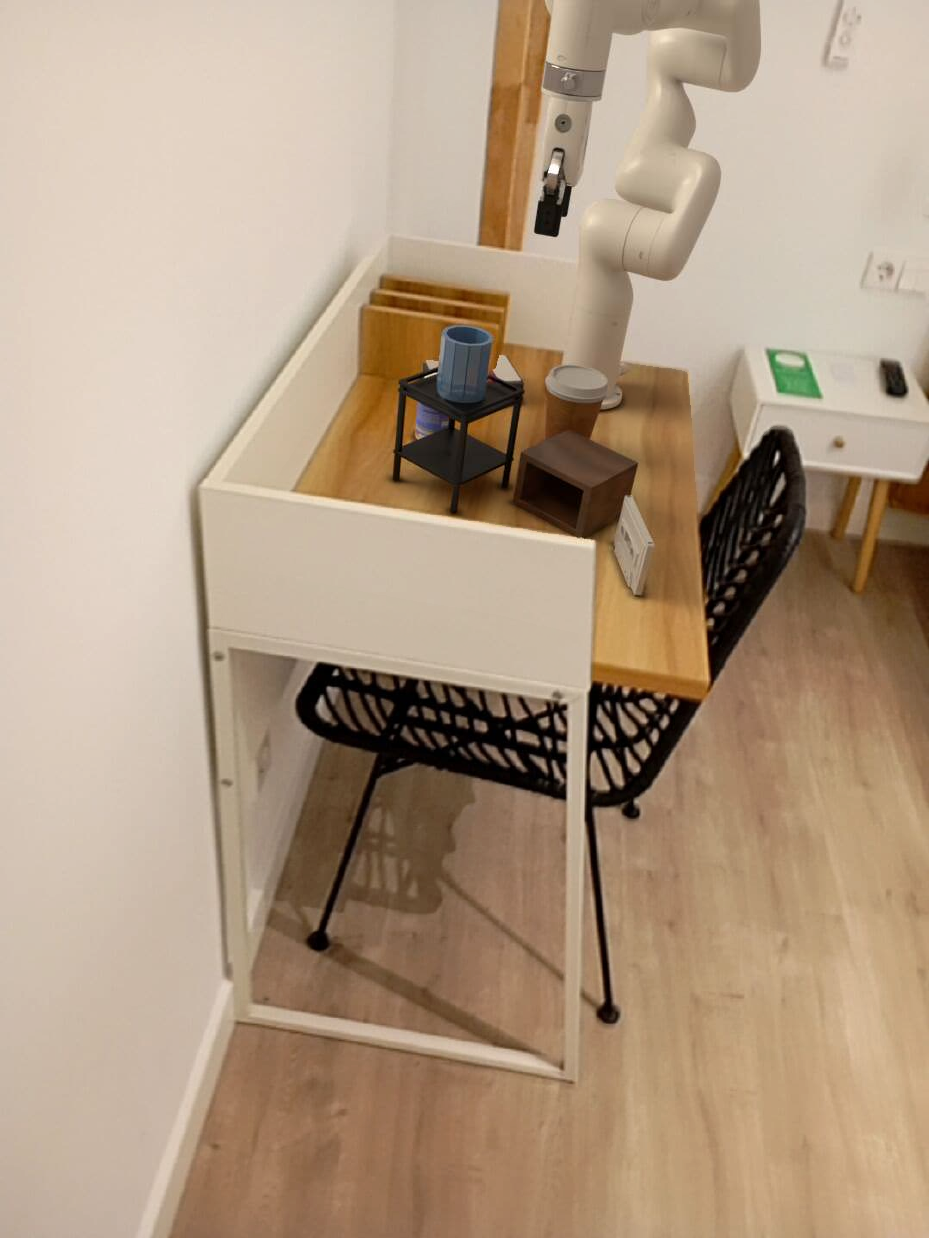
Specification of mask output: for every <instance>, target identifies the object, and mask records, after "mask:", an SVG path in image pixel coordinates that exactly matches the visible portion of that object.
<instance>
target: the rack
mask: <svg viewBox="0 0 929 1238" xmlns="http://www.w3.org/2000/svg"><path fill="white" fill-rule="evenodd" d="M436 372H438V367H436V368H433V369H430V370H427V371H425V372H422V373H421V372H419V373H416V374H414V375H411V376H408V377H405V378H402V379H399V380H398V385H399V387H397V392H398V403H397V414H396V417H397V418H396V427H395V442H394V443H395V444H394V449H393V451H392V453H393V467H392V481H393V482H399V481H400V480H401V479H400V478H401V466H402V459H404V460H406V461H408V462H409V463H411V464H413V465H414V466H417V467H419V468H420V469H422V470H424V471H426V472H428V473H429V474H431V475H432V476H433V475H434V476H435V477H437V478H439V479H440V480H443V482H446V483H447V484H450V485H452V491H451V500H450V508H449V512H450V514H451V515H456V514H457V513H458V509H459V502H460V493H461V487H462V486H463V485H465V484H468V483H470V482H472V481H474V480H476V479H478V478H480V477H483V476H485V475H487V474H489V473H491V472H494V471H496V470H497V469H499V468H501V467H503V473H502V479H501V484H500V487H501V488H502V489H508V488H509V486H510V485H509V484H510V478H511V472H512V466H513V462H514V461H515V457H514V452H515V446H516V440H517V434H518V426H519V420H520V414H521V410H522V409H521V407H522V403H523V401H524V394H525V391H526V390H525V389H521V388H519V387H517V386H514V385H512V384H510V383H508V382H506V381H504V380H501V379H499V378H497V377H495V376H493V375H491V374H489V378H488V379H490V380H492V381H495V382H497V383H499V384H501V385H503V386H505V387H507V388H509V389H512V390H514V391H516V392H511V391H509V390H507V389H505V388H503V387H501V386H499V385H497V384H494V383H492V382H490V381H488V386H487V390H486V396H485V398H484V399H483V400H481V401H479V402H475V403H458V402H453V401H450V400H447V399H445V398H443V397H441V396H440V395H439V394H438V392H437V375H438V374H435V375H432V376H429V377H426V378H424V379H422V377H425V376H428V375H431V374H433V373H436ZM522 396H523V397H522ZM407 397H408V398H410V399H412V400H414V401H415V402H417V403H418V402H420V403H422V404H424V405H426V406H428V407H430V408H432V409H434V410H436V411H438V412H439V413H441V414H443V415H445V416H447V417H449V422H448V427H447V428H445V429H442V430H440V431H437V432H435V433H433V434H430V435H428V436H425V437H423V438H420V439H416V440H413V441H411V442H409V443H406V444H404V445H403V443H404V432H405V431H404V430H405V418H406V407H407ZM512 406H513V407H512ZM510 407H512V413H511V419H510V426H509V432H508V439H507V444H506V445H507V447H506V452H503V451H501V450H499V449H497V448H495V447H494V446H491V445H490V444H487V443H486V442H484V441H481V440H480V439H478V438H476V437H474V436H472V435H470V434H468V430H469V424H471V423H474V422H476V421H479V420H481V419H484V418H486V417H489V416H490V415H493V414H495V413H497V412H500V411H502V410H505V409H507V408H510ZM456 422H457V423H459V429H457V428H456Z"/></svg>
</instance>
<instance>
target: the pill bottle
mask: <svg viewBox="0 0 929 1238" xmlns="http://www.w3.org/2000/svg"><path fill="white" fill-rule="evenodd" d="M435 374H438V373H433V374H431V375H428V376H425V377H424V378H426V377H429V376H432V375H435ZM448 422H449V417H447V416H445V415H443V414H441V413H439V412H438V411H436V410H434V409H432V408H430V407H428V406H426V405H424V404H422V403H420V402H418V401H417V407H416V420H415V429H414V436H415V438H416V440H418V439H420V438H423V437H425V436H428V435H430V434H433V433H435V432H437V431H440V430H442V429H445V428H447V427H448Z"/></svg>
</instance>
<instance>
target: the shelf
mask: <svg viewBox="0 0 929 1238" xmlns="http://www.w3.org/2000/svg"><path fill="white" fill-rule="evenodd" d="M638 466H639V462H638V461H637V460H634V459H632V458H630V457H628V456H626V455H623V454H621V453H619V452H617V451H616V450H613V449H611V448H609V447H607V446H604V445H602V444H601V443H598V442H596V441H594V440H593V439H591V438H590V439H588V438H586V437H584V436H582V435H579V434H577V433H575V432H573V431H571V430H567V431H565V432H562V433H560V434H558V435H556V436H554V437H552V438H550V439H548V440H545V439H544V441H541V442H539V443H537V444H535V445H532V446H531V447H528V448H527V449H524V450H522V451H520V455H519V461H518V467H517V472H516V473H517V474H516V480H515V486H514V492H513V499H512V504H515V505H516V506H518V507H520V508H521V509H524V510H526V511H528V512H530V513H531V514H533V515H534V516H537V517H538V518H540V519H542V520H544V521H546V522H547V523H550V524H552V525H554V526H555V527H557V528H559V529H561V530H563V531H565V532H567V533H568V534H570V535H572V536H574V537H576V538H578V537H582V538H583V539H584V538H586V537H588V536H589V535H591V534H593V533H594V532H596V531H598V530H599V529H601V528H603V527H605V526H606V525H608V524H610V523H611V522H613V521H615V520H616V519H618V518H620V515H621V510H622V506H623V502H624V498H625V495H627V496H632V491H633V488H634V487H633V486H634V483H635V480H636V475H637V470H638V468H639V467H638Z"/></svg>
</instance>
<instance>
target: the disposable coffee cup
mask: <svg viewBox="0 0 929 1238" xmlns="http://www.w3.org/2000/svg"><path fill="white" fill-rule="evenodd" d="M544 383H545V385H546V387H545V388H546V389H547V390H546V391H547V392H546V409H545V410H546V411H545V414H546V415H545V436H544V441H545V440H548V439H550V438H552V437H554V436H556V435H558V434H560V433H562V432H565V431H567V430H571V431H573V432H575V433H577V434H579V435H582V436H584V437H586V438H588V439H590V440H591V438H592V437H591V436H592V435H593V434H592V433H593V432H594V429H595V426H596V422H597V419H598V417H599V414H600V411H601V410H600V408H601V405H602V402H603V400H604V398H605V397H606V395H607V394H608V392H609V387H608V381H607V378H606V376H605V375H604V374H602V373H601V372H599V371H597V370H595V369H592V368H589V367H586V366H581V365H571V364H570V365H562V364H559V365H556V366H554V367H552V368H551V369H550V370H549V374H548V375H547V376H546V378H545V380H544Z"/></svg>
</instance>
